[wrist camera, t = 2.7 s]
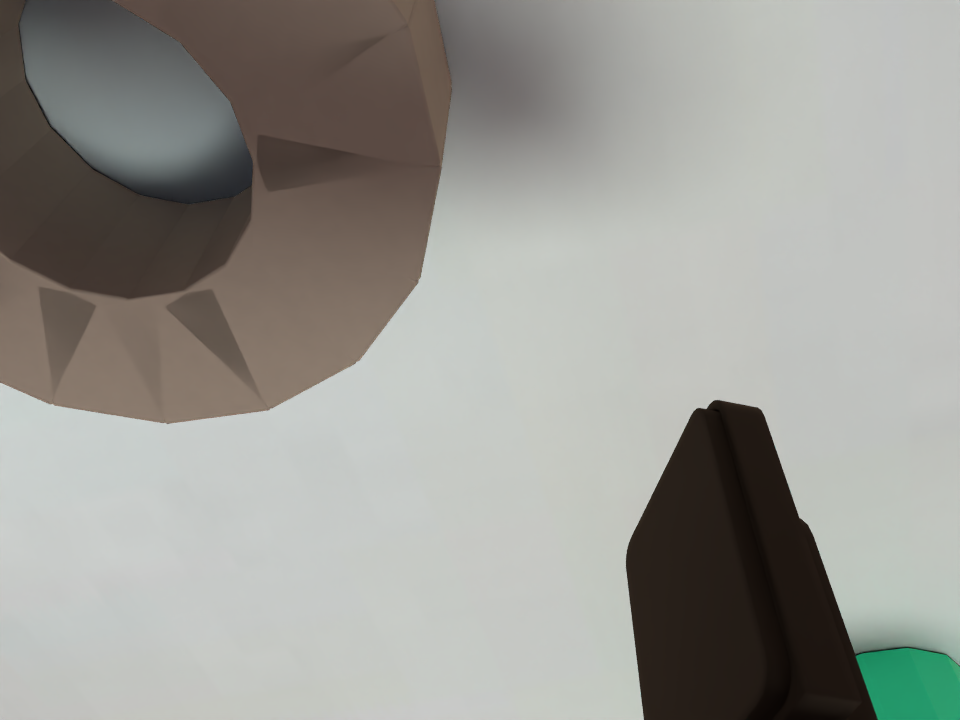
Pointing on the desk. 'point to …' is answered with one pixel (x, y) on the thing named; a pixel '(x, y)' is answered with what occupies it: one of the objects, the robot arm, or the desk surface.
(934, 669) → the candle
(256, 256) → the tape
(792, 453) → the desk surface
